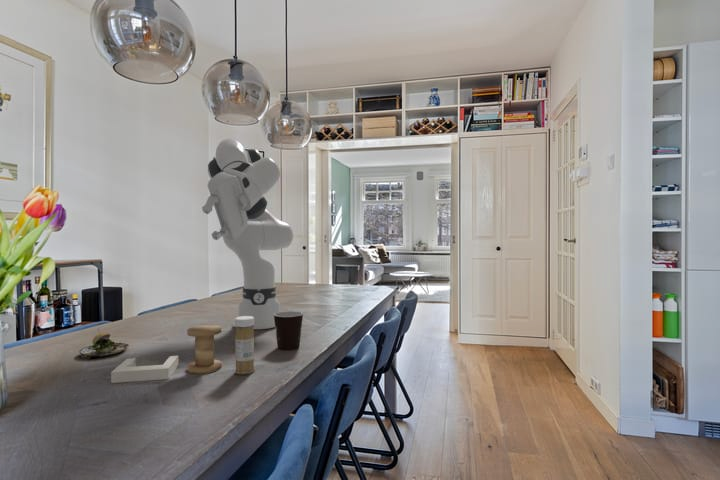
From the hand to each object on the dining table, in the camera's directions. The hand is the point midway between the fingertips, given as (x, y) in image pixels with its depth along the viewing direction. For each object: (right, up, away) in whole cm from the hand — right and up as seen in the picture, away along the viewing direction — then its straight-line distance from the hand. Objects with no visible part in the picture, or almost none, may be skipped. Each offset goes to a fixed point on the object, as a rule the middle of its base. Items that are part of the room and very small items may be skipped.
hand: (209, 224), depth 104 cm
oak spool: (+1, -36, -5) cm, 37 cm away
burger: (-33, -37, +8) cm, 50 cm away
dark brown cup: (+19, -36, +16) cm, 44 cm away
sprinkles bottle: (+12, -37, -8) cm, 39 cm away
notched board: (-12, -36, -9) cm, 39 cm away
